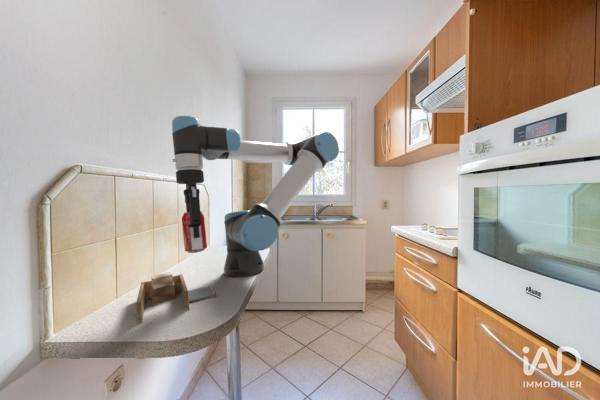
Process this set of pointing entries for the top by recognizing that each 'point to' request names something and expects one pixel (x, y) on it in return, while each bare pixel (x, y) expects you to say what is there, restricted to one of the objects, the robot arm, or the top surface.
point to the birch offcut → (162, 280)
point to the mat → (200, 294)
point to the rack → (146, 293)
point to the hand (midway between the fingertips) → (196, 247)
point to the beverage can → (187, 233)
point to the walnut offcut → (163, 293)
